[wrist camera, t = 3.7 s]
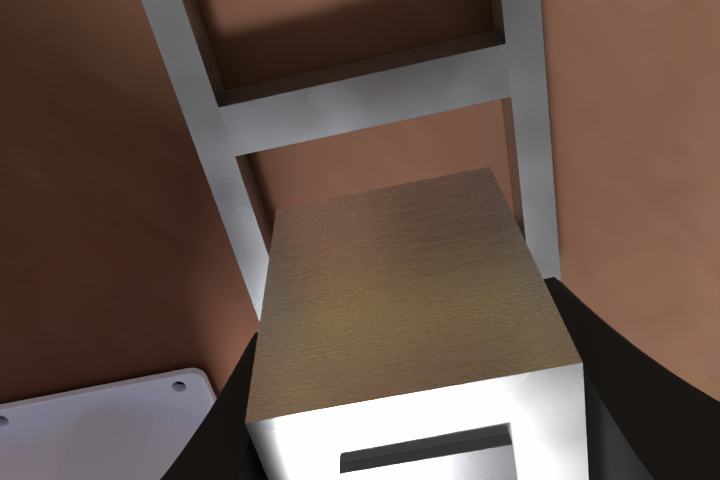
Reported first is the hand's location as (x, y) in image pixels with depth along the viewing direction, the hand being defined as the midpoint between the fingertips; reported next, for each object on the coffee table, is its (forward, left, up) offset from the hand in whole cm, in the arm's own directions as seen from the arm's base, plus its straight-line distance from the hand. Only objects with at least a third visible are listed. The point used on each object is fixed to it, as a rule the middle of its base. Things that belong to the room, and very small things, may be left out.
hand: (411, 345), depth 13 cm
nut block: (0, 0, -2) cm, 2 cm away
